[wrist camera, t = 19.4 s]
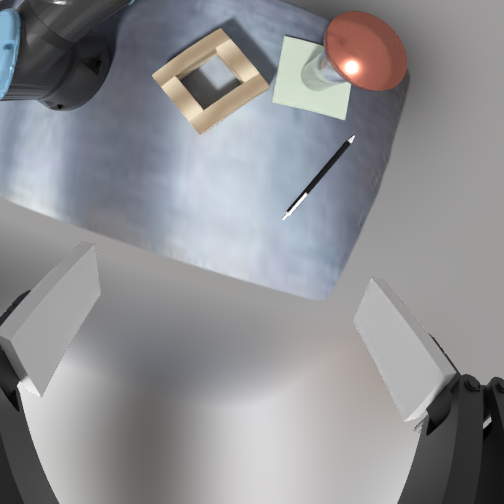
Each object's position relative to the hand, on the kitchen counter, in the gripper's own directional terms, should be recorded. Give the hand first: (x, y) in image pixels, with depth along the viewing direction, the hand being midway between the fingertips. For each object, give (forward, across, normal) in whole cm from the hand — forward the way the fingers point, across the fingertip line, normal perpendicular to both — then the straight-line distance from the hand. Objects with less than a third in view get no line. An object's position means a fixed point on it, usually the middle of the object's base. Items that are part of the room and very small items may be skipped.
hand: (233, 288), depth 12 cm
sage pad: (+33, +10, +18) cm, 39 cm away
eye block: (+33, -6, +14) cm, 36 cm away
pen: (+33, +14, +2) cm, 36 cm away
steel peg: (+32, +10, +18) cm, 38 cm away
